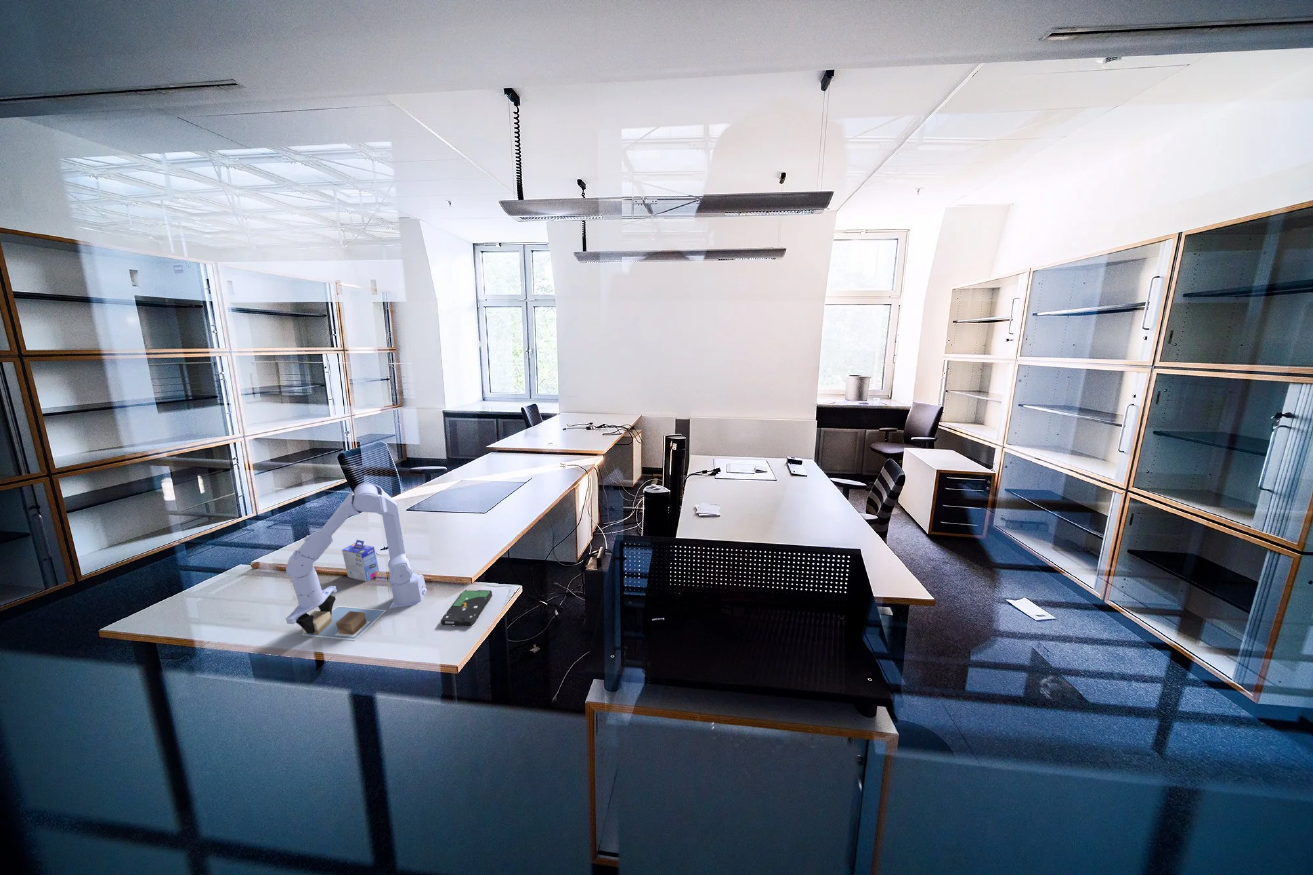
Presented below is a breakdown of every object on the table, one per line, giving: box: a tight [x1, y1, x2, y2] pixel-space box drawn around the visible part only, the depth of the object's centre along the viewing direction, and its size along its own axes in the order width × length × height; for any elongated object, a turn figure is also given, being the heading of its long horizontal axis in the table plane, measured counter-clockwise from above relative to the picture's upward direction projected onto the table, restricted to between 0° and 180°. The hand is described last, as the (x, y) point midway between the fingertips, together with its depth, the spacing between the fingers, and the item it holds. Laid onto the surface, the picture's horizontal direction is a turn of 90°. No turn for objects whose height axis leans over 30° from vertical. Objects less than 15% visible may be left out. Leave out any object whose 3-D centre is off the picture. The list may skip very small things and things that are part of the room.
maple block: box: [301, 610, 332, 634], centre depth 123 cm, size 5×5×4 cm
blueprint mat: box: [300, 605, 388, 642], centre depth 126 cm, size 18×13×1 cm
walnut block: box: [336, 611, 367, 635], centre depth 123 cm, size 5×5×4 cm
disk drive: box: [440, 589, 493, 627], centre depth 133 cm, size 10×3×15 cm
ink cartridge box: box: [341, 539, 380, 582], centre depth 147 cm, size 10×6×14 cm, turn 74°
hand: (319, 625), depth 124 cm, fingers closed on maple block, 5 cm apart
